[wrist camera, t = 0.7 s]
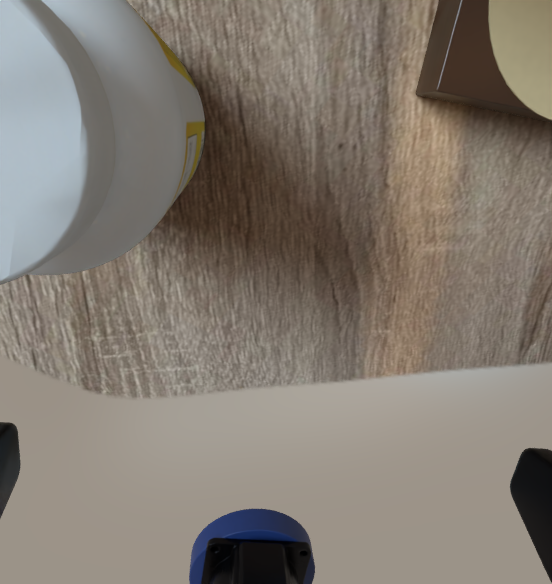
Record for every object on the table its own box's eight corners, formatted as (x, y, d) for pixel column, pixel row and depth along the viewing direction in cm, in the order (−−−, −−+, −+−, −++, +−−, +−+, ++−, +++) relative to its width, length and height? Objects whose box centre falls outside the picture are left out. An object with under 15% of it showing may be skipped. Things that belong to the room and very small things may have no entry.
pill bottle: (27, 11, 15) (-510, -282, 4) (215, 44, 16) (171, -126, 5) (35, 199, 17) (-301, 324, 6) (200, 220, 18) (146, 361, 7)
